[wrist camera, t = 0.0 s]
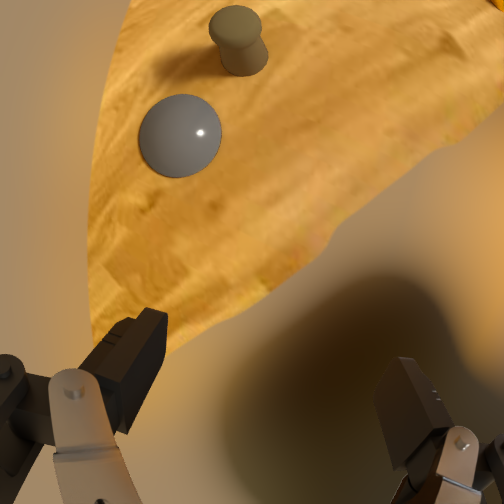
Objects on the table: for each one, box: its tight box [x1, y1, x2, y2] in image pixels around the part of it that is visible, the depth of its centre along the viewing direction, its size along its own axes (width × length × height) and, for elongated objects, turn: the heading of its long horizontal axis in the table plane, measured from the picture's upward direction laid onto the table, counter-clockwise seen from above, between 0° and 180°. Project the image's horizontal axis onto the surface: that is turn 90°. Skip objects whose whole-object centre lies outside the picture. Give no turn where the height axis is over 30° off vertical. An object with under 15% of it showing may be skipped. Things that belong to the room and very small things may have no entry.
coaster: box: [140, 94, 222, 177], centre depth 35 cm, size 11×11×1 cm
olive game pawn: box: [209, 5, 268, 77], centre depth 26 cm, size 6×6×11 cm
